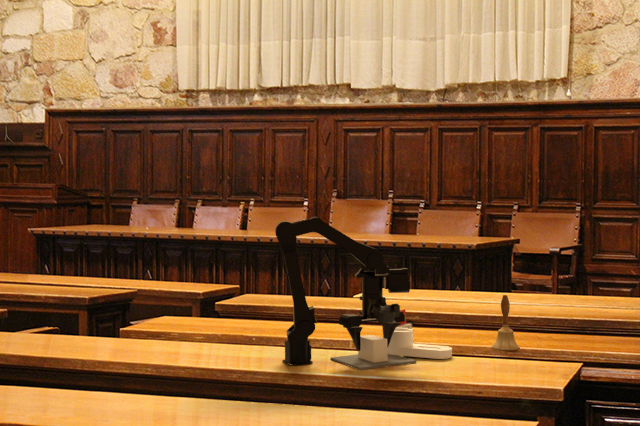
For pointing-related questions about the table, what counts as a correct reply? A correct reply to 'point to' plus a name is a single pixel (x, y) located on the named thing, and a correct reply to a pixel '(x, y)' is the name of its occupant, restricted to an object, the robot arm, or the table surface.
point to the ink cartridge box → (403, 324)
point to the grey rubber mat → (365, 364)
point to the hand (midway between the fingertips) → (372, 349)
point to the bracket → (415, 346)
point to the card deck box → (373, 348)
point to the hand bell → (505, 330)
